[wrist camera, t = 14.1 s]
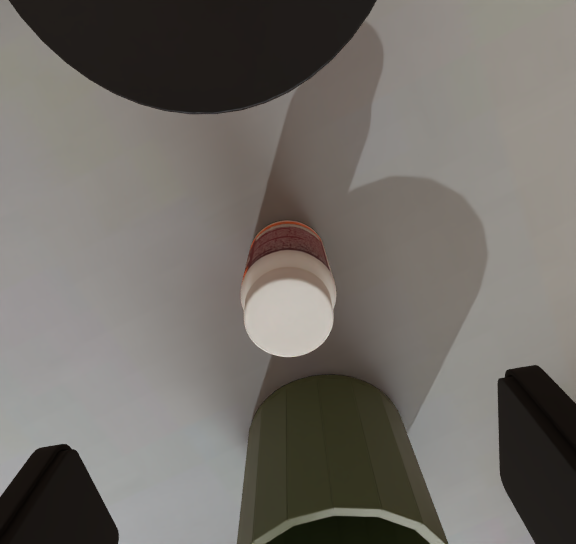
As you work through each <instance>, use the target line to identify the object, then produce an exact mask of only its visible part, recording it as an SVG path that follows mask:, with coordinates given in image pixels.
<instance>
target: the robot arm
mask: <svg viewBox="0 0 576 544" xmlns="http://www.w3.org/2000/svg"><path fill="white" fill-rule="evenodd" d="M498 417H499V459H500V476H501V480H502V483H503V486H504V488H505V490H506V492H507V494H508V496H509V498H510V499H511V501H512V503H513V505H514V506H515V508H516V510H517V512H518V514H519V515H520V517H521V519H522V521H523V522H524V524H525V526H526V528H527V529H528V531H529V533H530V535H531V537H532V538H533V540H534V542H535V544H576V404H575V402H574V401H573V400H572V399H571V398H570V397H569V396H568V395H567V394H566V393H565V392H564V391H563V390H562V389H561V388H560V387H559V386H558V385H557V384H556V383H555V382H554V381H553V380H552V379H551V378H550V377H549V376H548V375H547V374H546V373H545V371H544V370H543V369H541V368H540V367H539V366H537V365H533V366H527V367H521V368H515V369H509V370H507V371H506V373H505V378H500V379H499V380H498ZM118 541H119V534H118V529H117V527H116V525H115V523H114V521H113V519H112V517H111V515H110V514H109V512H108V510H107V508H106V506H105V504H104V502H103V500H102V498H101V496H100V494H99V492H98V490H97V489H96V487H95V485H94V483H93V481H92V479H91V477H90V475H89V473H88V471H87V469H86V467H85V465H84V464H83V462H82V460H81V458H80V456H79V454H78V452H77V451H76V450H74V449H71V448H70V446H68V445H67V444H60V445H54V446H48V447H42V448H39V449H37V450H36V451H35V452H34V453H33V454H32V455H31V456H30V458H29V459H28V460H27V462H26V463H25V464H24V466H23V467H22V468H21V470H20V471H19V472H18V474H17V475H16V477H15V478H14V479H13V481H12V482H11V483H10V485H9V486H8V487H7V489H6V490H5V491H4V493H3V494H2V495H1V497H0V544H118Z"/></svg>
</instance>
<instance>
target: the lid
mask: <svg viewBox="0 0 576 544" xmlns="http://www.w3.org/2000/svg"><path fill="white" fill-rule="evenodd" d="M9 1H10V3H11V4H12V5H13V7H14V8H15V9H16V11H17V12H18V14H19V15H20V16H21V18H22V19H23V20H24V21H25V22H26V23H27V24H28V25H29V27H30V28H31V29H32V30H33V31H34V32H35V33H36V34H37V36H38V37H39V38H40V39H41V40H42V41H43V42H44V43H45V44H46V45H47V46H48V47H49V48H50V49H52V50H53V51H54V52H55V53H56V54H57V55H58V56H59V57H60V58H61V59H63V60H64V61H65V62H66V63H67V64H69V65H70V66H71V67H73V68H74V69H75V70H77V71H78V72H80V73H81V74H82V75H84V76H85V77H87V78H88V79H89V80H91V81H93V82H94V83H96V84H98V85H100V86H102V87H103V88H105V89H107V90H109V91H110V92H112V93H114V94H116V95H119V96H121V97H124V98H126V99H128V100H131V101H133V102H136V103H138V104H141V105H145V106H149V107H152V108H156V109H160V110H164V111H169V112H177V113H185V114H220V113H226V112H233V111H239V110H244V109H247V108H251V107H254V106H257V105H260V104H264V103H267V102H269V101H271V100H273V99H275V98H277V97H280V96H282V95H284V94H286V93H288V92H290V91H291V90H293V89H295V88H296V87H298V86H299V85H301V84H302V83H304V82H305V81H307V80H308V79H310V78H311V77H313V76H314V75H315V74H316V73H317V72H318V71H320V70H321V69H322V68H323V67H324V66H325V65H327V64H328V63H329V62H330V61H331V60H332V59H333V58H334V57H335V56H336V55H337V54H338V53H339V52H340V51H341V49H342V48H343V47H344V46H345V45H346V44H347V43H348V42H349V41H350V40H351V38H352V37H353V36H354V34H355V33H356V32H357V30H358V29H359V27H360V26H361V24H362V23H363V22H364V20H365V19H366V17H367V16H368V15H369V13H370V11H371V10H372V8H373V6H374V4H375V2H376V0H9Z"/></svg>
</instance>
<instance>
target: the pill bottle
mask: <svg viewBox="0 0 576 544" xmlns="http://www.w3.org/2000/svg"><path fill="white" fill-rule="evenodd" d="M240 294H241V304H242V308H243V310H244V325H245V328H246V331H247V333H248V335H249V337H250V338H251V340H252V341H253V342H254V343H255V344H256V345H257V346H258V347H259V348H261V349H262V350H264V351H265V352H268V353H270V354H273V355H276V356H281V357H296V356H301V355H304V354H307V353H309V352H311V351H313V350H315V349H316V348H318V347H319V346H320V345H321V344H322V343H323V342H324V341H325V340H326V338H327V337H328V335H329V334H330V332H331V329H332V326H333V320H334V313H333V309H334V306H335V303H336V296H337V293H336V286H335V281H334V278H333V275H332V272H331V268H330V264H329V262H328V259H327V255H326V251H325V248H324V245H323V242H322V240H321V239H320V237H319V236H318V234H317V233H316V232H315V231H314V230H313V229H311V228H310V227H309V226H307V225H305V224H303V223H300V222H297V221H289V220H285V221H278V222H275V223H272V224H270V225H268V226H266V227H265V228H263V229H262V230H261V231H260V232H259V233H258V234H257V235H256V237H255V238H254V240H253V242H252V245H251V247H250V251H249V255H248V259H247V263H246V268H245V272H244V276H243V281H242V285H241V293H240Z"/></svg>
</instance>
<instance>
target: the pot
mask: <svg viewBox="0 0 576 544" xmlns="http://www.w3.org/2000/svg"><path fill="white" fill-rule="evenodd" d="M237 544H448V541H447V539H446V536H445V533H444V531H443V528H442V525H441V523H440V520H439V517H438V515H437V512H436V509H435V507H434V504H433V502H432V499H431V496H430V494H429V491H428V488H427V486H426V483H425V480H424V478H423V475H422V472H421V470H420V467H419V464H418V462H417V459H416V456H415V454H414V451H413V448H412V446H411V443H410V440H409V438H408V435H407V432H406V430H405V427H404V425H403V422H402V419H401V417H400V414H399V412H398V410H397V409H396V408H395V406H394V404H393V403H392V402H391V401H390V399H389V398H388V397H387V396H386V395H385V394H384V393H382V392H381V391H380V390H379V389H377V388H375V387H374V386H372V385H370V384H368V383H366V382H364V381H362V380H359V379H356V378H352V377H347V376H341V375H317V376H311V377H306V378H302V379H299V380H296V381H294V382H291V383H289V384H287V385H285V386H283V387H281V388H280V389H278V390H277V391H275V392H274V393H273V394H272V395H270V396H269V397H268V398H267V399H266V400H265V401H264V402H263V404H262V405H261V406H260V408H259V409H258V411H257V412H256V414H255V416H254V418H253V421H252V424H251V427H250V429H249V437H248V447H247V456H246V465H245V474H244V483H243V493H242V502H241V511H240V520H239V529H238V539H237Z"/></svg>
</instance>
